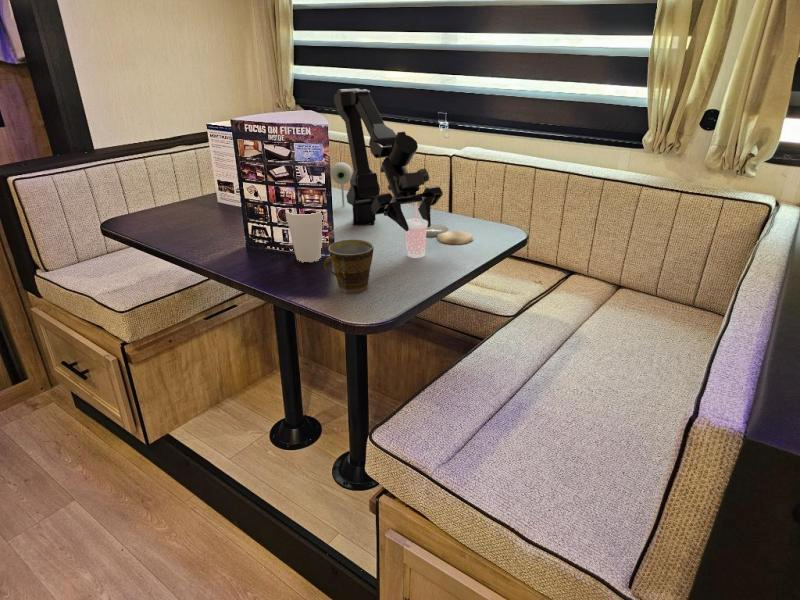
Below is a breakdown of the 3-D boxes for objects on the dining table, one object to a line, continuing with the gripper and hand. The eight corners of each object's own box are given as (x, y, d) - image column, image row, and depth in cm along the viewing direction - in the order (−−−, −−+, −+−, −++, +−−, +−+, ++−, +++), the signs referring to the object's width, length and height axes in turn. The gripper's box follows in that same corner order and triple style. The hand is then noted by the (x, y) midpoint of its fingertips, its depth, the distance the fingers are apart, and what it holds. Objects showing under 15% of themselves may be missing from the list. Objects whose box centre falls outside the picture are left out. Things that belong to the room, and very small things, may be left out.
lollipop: (332, 210, 181) (329, 164, 175) (333, 204, 188) (330, 160, 181) (354, 209, 182) (351, 164, 175) (353, 203, 188) (351, 159, 182)
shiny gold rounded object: (439, 244, 149) (439, 242, 149) (435, 233, 158) (435, 231, 158) (475, 243, 150) (475, 241, 149) (469, 232, 159) (469, 230, 158)
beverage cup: (405, 250, 146) (405, 199, 140) (428, 251, 145) (429, 199, 139) (403, 258, 140) (402, 205, 134) (426, 259, 139) (427, 206, 133)
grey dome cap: (415, 237, 155) (415, 235, 155) (413, 226, 164) (413, 224, 164) (450, 236, 156) (450, 234, 155) (445, 225, 165) (445, 223, 164)
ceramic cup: (353, 275, 130) (351, 236, 126) (384, 286, 124) (383, 245, 120) (312, 293, 122) (308, 251, 117) (342, 306, 116) (340, 262, 111)
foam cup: (332, 253, 144) (329, 205, 139) (318, 266, 136) (314, 216, 131) (299, 250, 147) (295, 203, 141) (284, 262, 139) (278, 213, 133)
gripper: (374, 162, 131) (396, 218, 127) (440, 154, 139) (462, 206, 135) (362, 187, 141) (382, 240, 137) (424, 179, 149) (444, 228, 145)
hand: (418, 228), depth 138 cm, fingers closed on beverage cup, 6 cm apart
